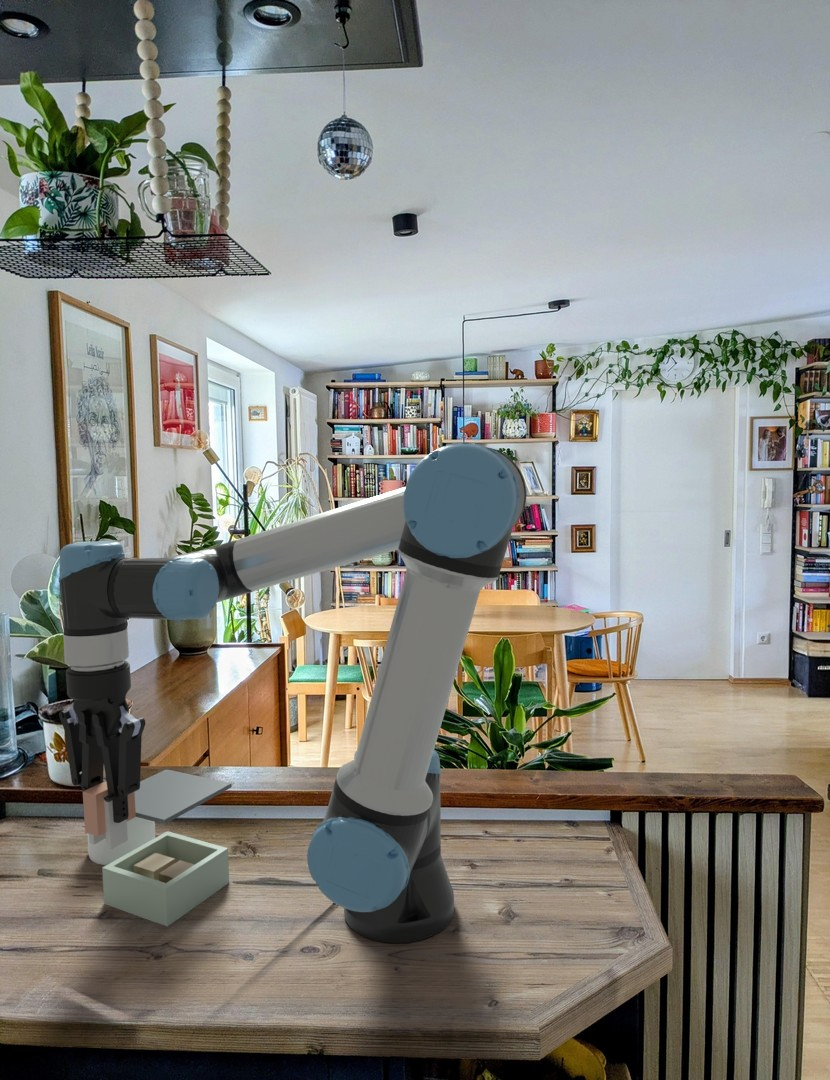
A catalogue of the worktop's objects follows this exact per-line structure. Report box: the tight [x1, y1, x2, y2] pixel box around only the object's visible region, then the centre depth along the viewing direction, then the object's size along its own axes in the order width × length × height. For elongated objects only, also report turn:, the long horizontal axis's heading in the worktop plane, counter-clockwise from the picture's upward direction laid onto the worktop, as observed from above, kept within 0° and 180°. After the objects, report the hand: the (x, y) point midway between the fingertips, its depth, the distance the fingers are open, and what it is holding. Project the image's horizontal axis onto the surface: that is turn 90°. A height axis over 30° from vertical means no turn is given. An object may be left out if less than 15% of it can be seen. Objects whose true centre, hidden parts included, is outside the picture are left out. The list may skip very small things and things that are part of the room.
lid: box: [82, 768, 233, 836], centre depth 104 cm, size 13×19×6 cm
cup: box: [86, 817, 156, 866], centre depth 120 cm, size 10×10×10 cm
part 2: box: [159, 860, 194, 883], centre depth 107 cm, size 4×4×4 cm
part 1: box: [133, 853, 175, 881], centre depth 109 cm, size 4×4×4 cm
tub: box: [101, 831, 230, 927], centre depth 108 cm, size 12×12×6 cm
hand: (108, 841), depth 98 cm, fingers closed on lid, 2 cm apart
